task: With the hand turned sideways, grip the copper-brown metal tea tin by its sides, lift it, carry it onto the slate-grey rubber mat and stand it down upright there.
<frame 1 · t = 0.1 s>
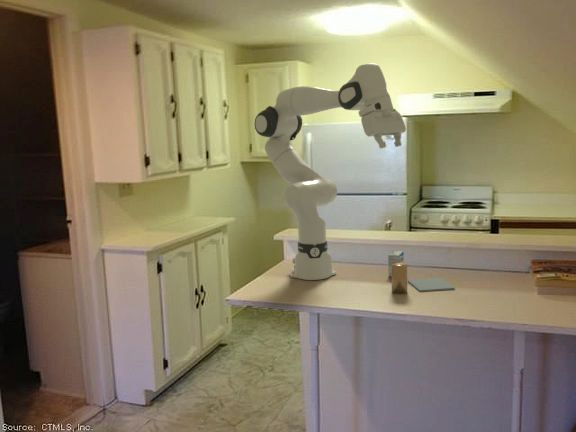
hand: (391, 147, 179), 52 cm above the countertop, tool tilted 20°, fingers open, 8 cm apart
medicine box: (396, 274, 211), on the countertop
tea tin: (399, 291, 188), on the countertop
mat: (430, 285, 194), on the countertop
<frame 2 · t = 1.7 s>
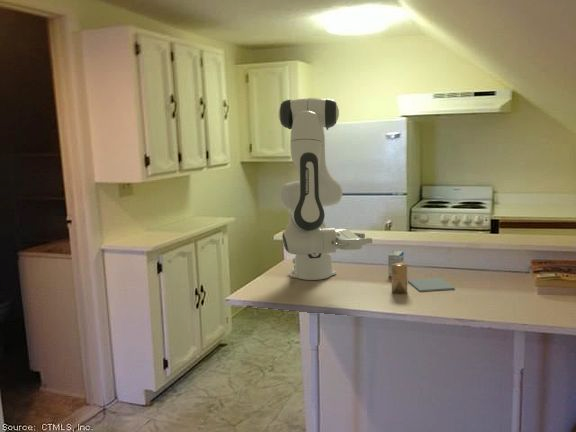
hand: (368, 237, 183), 20 cm above the countertop, tool horizontal, fingers open, 8 cm apart
nothing on the countertop moved.
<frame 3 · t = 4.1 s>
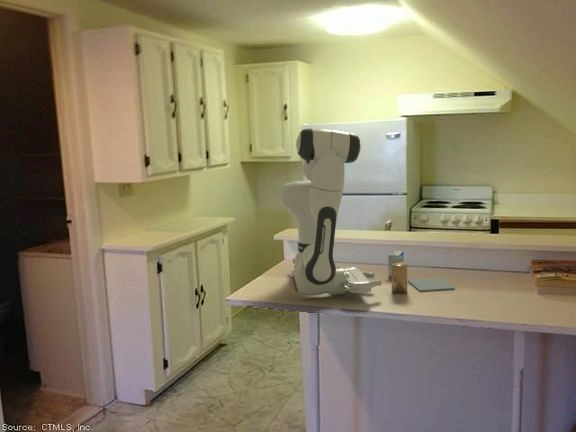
hand: (377, 278, 186), 5 cm above the countertop, tool horizontal, fingers open, 8 cm apart
nothing on the countertop moved.
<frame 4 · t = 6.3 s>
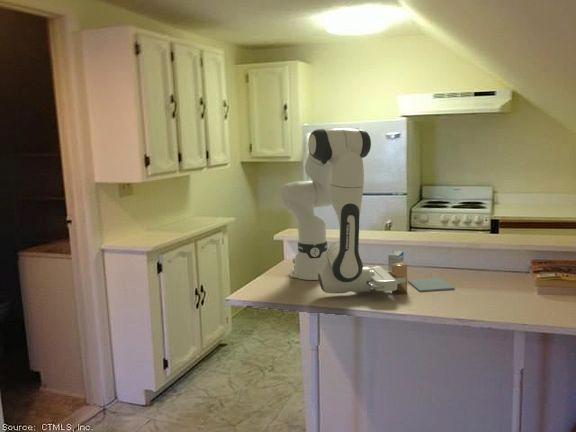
hand: (401, 276, 187), 6 cm above the countertop, tool horizontal, fingers closed on tea tin, 5 cm apart
tea tin: (399, 291, 188), on the countertop, touching gripper
everything else where it was.
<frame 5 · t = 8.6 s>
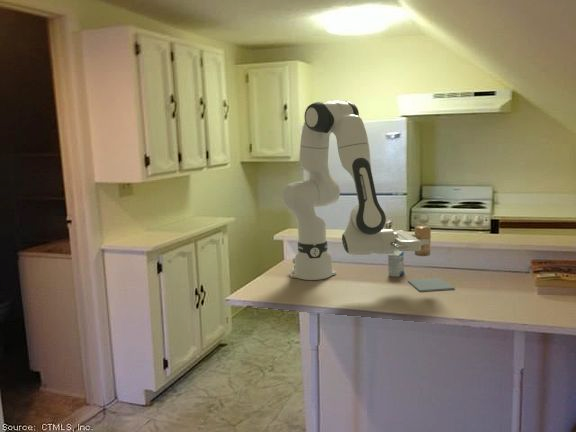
hand: (425, 239, 189), 18 cm above the countertop, tool horizontal, fingers closed on tea tin, 5 cm apart
tea tin: (422, 254, 190), point 13 cm above the countertop, touching gripper
everything else where it was.
when the fingers open (7 cm above the countertop, at t = 11.4 s): tea tin drops 1 cm, resting on mat.
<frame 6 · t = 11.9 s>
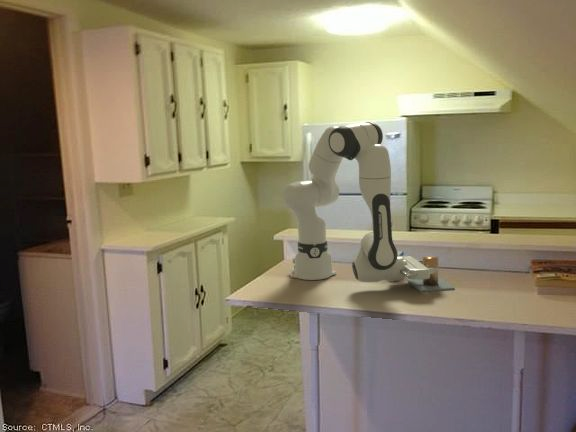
hand: (433, 266, 193), 7 cm above the countertop, tool horizontal, fingers open, 8 cm apart
tea tin: (430, 283, 194), point 1 cm above the countertop, touching mat
everything else where it was.
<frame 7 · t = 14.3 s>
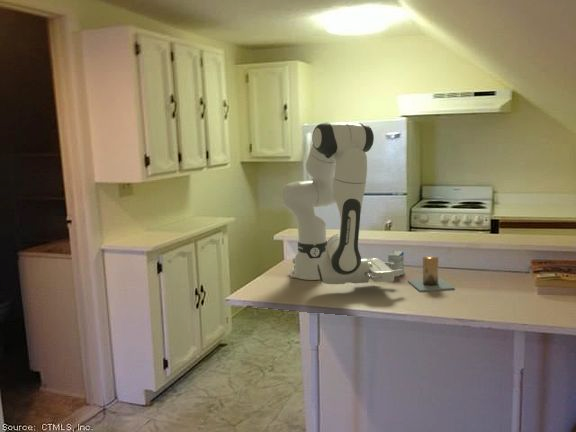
hand: (398, 268, 192), 7 cm above the countertop, tool horizontal, fingers open, 8 cm apart
nothing on the countertop moved.
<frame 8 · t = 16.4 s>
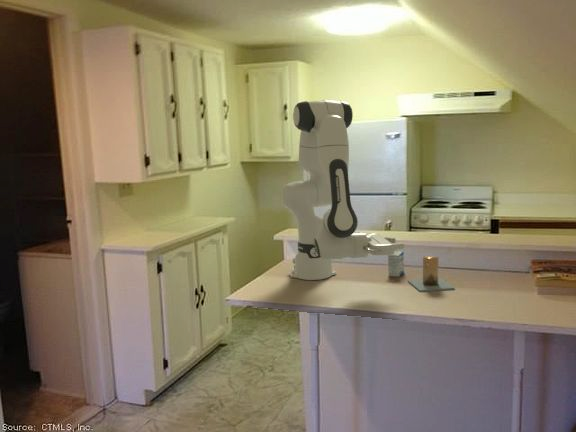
hand: (399, 242, 185), 18 cm above the countertop, tool horizontal, fingers open, 8 cm apart
nothing on the countertop moved.
at the end: tea tin inside the target area on the mat (0.0 cm from its centre), point 0.6 cm above the mat's base; tea tin tilted 0°; the gripper is holding nothing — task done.
